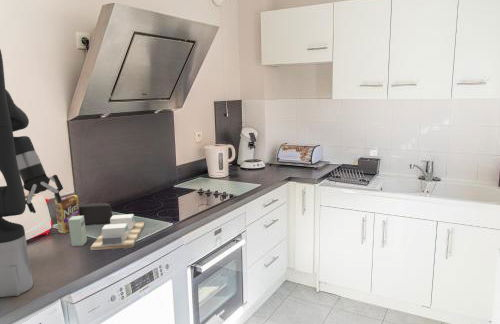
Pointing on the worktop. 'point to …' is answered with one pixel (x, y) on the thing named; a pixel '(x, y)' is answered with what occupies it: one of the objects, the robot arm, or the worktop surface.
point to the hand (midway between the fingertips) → (47, 208)
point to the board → (127, 243)
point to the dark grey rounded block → (96, 213)
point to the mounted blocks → (117, 228)
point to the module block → (77, 230)
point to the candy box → (66, 212)
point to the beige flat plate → (116, 243)
